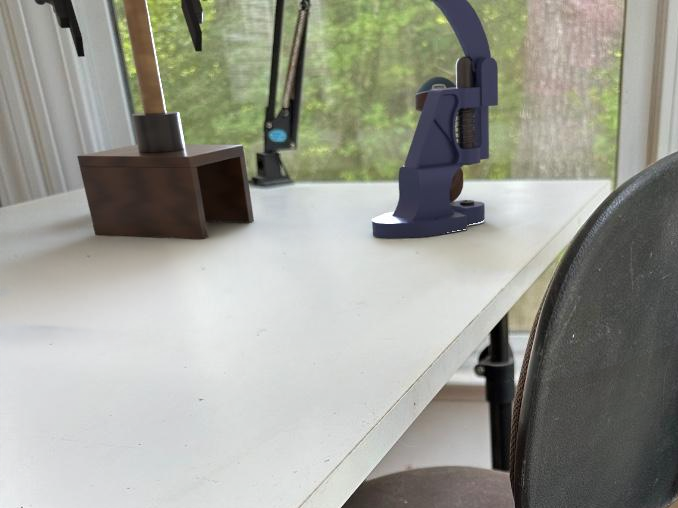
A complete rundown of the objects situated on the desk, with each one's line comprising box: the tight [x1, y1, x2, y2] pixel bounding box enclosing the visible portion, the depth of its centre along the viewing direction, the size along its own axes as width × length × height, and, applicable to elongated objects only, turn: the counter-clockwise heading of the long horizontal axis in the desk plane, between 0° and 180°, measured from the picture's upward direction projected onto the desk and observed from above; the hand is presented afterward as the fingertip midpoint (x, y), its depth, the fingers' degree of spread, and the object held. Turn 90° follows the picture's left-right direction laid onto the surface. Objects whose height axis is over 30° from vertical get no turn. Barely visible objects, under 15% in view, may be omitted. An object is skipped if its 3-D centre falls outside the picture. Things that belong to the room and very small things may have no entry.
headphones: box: [414, 76, 464, 203], centre depth 121 cm, size 6×15×22 cm
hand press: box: [371, 0, 499, 239], centre depth 102 cm, size 19×9×28 cm, turn 125°
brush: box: [122, 0, 186, 153], centre depth 106 cm, size 6×6×16 cm
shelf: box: [76, 144, 255, 240], centre depth 113 cm, size 16×12×9 cm
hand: (140, 44), depth 105 cm, fingers open, 13 cm apart
